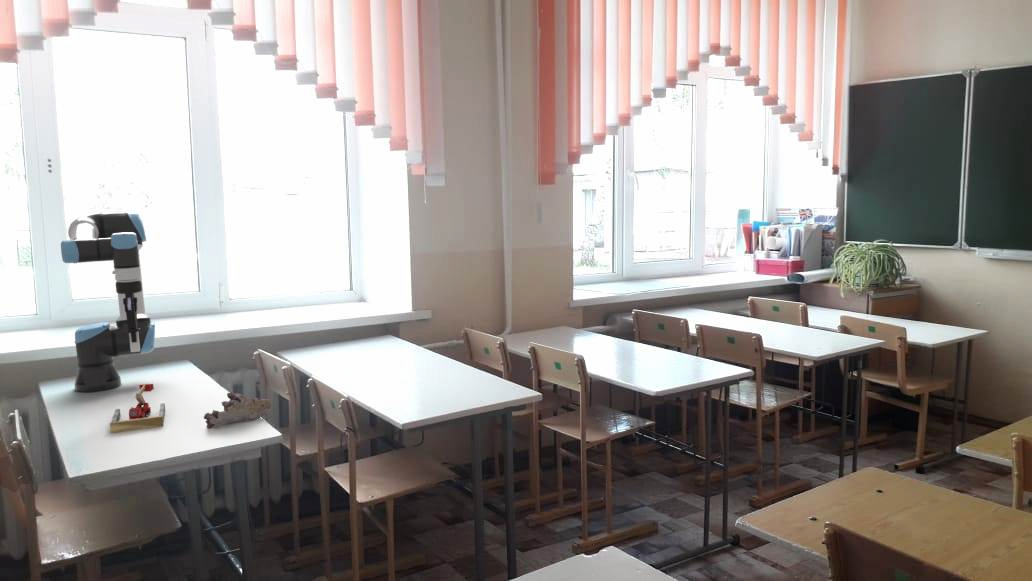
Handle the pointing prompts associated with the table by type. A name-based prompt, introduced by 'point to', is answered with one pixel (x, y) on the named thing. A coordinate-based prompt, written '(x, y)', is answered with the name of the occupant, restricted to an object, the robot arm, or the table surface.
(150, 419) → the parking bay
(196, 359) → the table surface
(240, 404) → the mineral specimen
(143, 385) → the toy fire truck
